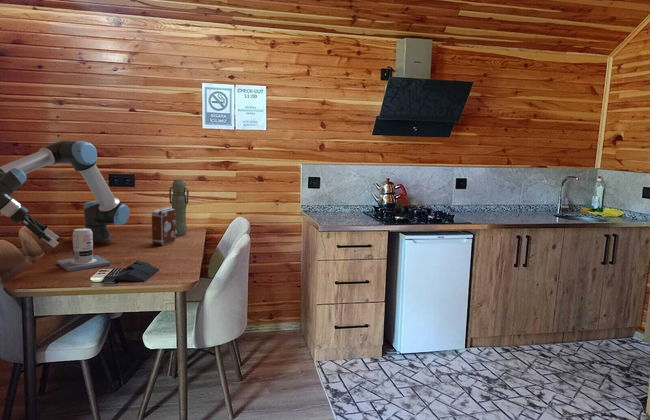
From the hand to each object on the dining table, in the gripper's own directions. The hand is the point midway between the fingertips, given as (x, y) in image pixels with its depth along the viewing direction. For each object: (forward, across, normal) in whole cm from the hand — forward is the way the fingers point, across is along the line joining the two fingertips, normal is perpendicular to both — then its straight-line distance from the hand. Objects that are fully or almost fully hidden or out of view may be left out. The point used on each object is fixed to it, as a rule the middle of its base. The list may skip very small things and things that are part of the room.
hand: (56, 242), depth 216 cm
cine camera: (+48, -37, +30) cm, 68 cm away
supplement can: (+14, 0, 0) cm, 15 cm away
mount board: (+16, 0, -1) cm, 16 cm away
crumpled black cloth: (+30, +28, +13) cm, 43 cm away
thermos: (+56, -57, +38) cm, 89 cm away
